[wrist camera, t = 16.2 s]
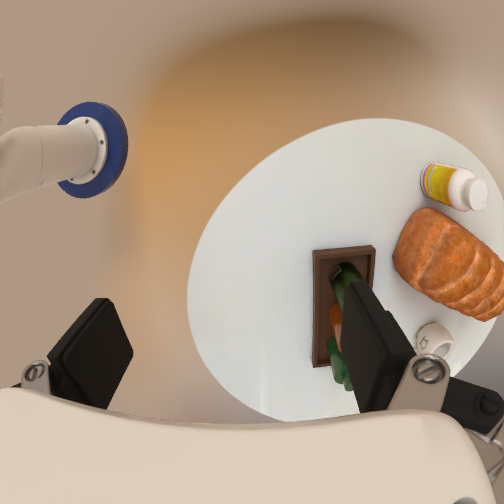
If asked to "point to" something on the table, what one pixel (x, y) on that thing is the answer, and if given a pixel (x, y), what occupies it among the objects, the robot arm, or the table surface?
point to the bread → (450, 265)
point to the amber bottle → (336, 322)
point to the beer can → (343, 279)
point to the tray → (325, 296)
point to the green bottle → (338, 364)
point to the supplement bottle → (454, 187)
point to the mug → (435, 341)
